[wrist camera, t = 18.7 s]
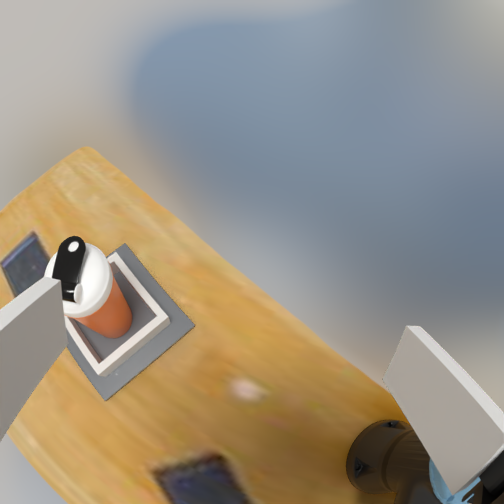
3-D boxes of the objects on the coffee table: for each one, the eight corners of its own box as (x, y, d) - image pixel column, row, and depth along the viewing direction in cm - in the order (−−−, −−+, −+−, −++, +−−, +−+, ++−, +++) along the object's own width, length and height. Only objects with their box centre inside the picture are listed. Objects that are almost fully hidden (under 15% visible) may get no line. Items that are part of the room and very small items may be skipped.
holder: (194, 326, 46) (194, 318, 42) (106, 400, 38) (96, 400, 33) (126, 245, 51) (120, 231, 47) (46, 308, 42) (33, 299, 38)
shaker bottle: (138, 292, 46) (107, 228, 29) (138, 344, 42) (99, 307, 25) (90, 292, 44) (41, 231, 27) (88, 343, 40) (27, 304, 23)
